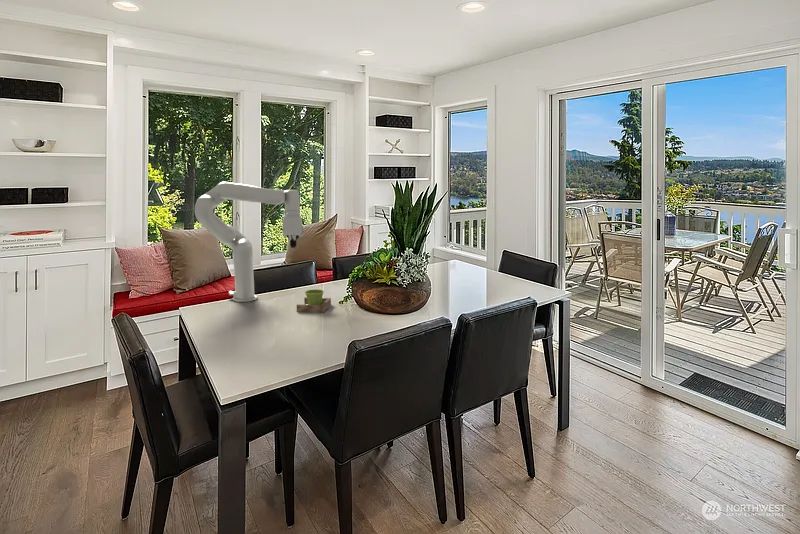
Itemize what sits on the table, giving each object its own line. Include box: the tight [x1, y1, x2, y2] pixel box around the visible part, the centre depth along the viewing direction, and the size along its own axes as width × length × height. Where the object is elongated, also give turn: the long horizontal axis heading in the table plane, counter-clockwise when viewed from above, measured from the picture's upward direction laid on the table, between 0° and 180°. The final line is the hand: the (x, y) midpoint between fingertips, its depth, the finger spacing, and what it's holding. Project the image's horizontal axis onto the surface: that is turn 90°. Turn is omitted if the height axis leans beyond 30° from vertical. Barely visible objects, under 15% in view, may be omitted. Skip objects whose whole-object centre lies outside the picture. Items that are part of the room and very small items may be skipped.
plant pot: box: [304, 289, 325, 305], centre depth 242 cm, size 9×9×9 cm
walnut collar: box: [296, 296, 332, 314], centre depth 242 cm, size 14×15×4 cm
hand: (293, 247), depth 260 cm, fingers closed
